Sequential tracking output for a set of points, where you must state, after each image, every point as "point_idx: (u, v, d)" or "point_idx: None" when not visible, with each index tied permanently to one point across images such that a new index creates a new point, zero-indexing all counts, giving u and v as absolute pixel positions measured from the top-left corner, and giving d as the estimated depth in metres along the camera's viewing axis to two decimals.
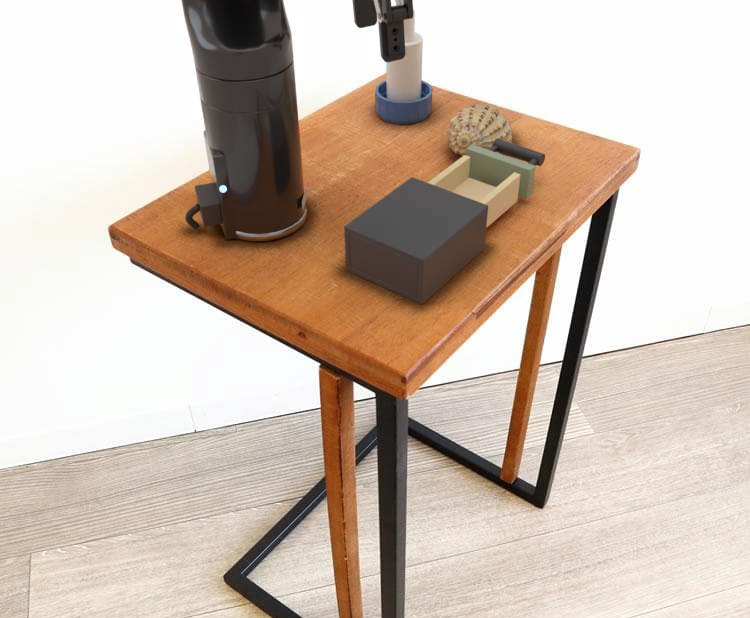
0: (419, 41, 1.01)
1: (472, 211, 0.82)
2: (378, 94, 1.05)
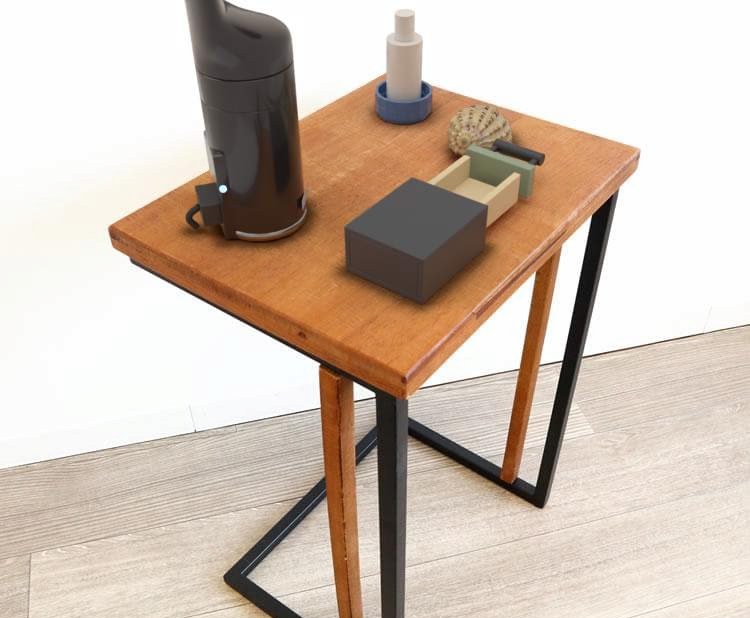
0: (419, 41, 1.01)
1: (472, 211, 0.82)
2: (378, 94, 1.05)
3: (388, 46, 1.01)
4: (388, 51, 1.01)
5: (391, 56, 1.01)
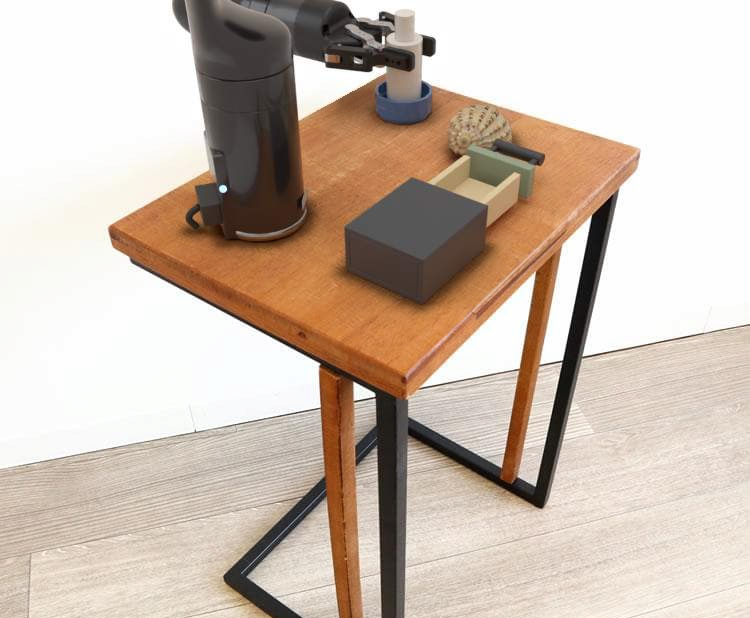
0: (419, 41, 1.01)
1: (472, 211, 0.82)
2: (378, 94, 1.05)
3: None
4: None
5: None
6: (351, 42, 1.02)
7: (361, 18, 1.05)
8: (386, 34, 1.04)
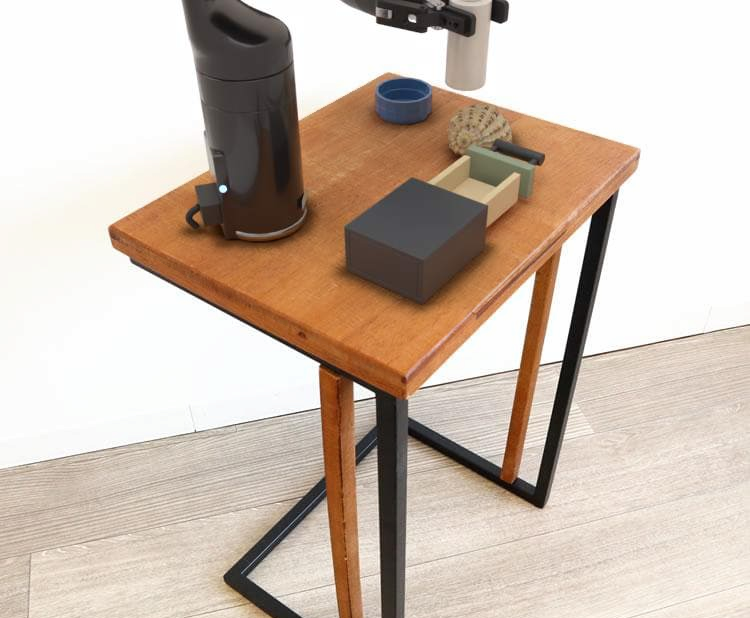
0: (486, 2, 0.85)
1: (472, 211, 0.82)
2: (378, 94, 1.05)
3: None
4: None
5: None
6: None
7: None
8: None
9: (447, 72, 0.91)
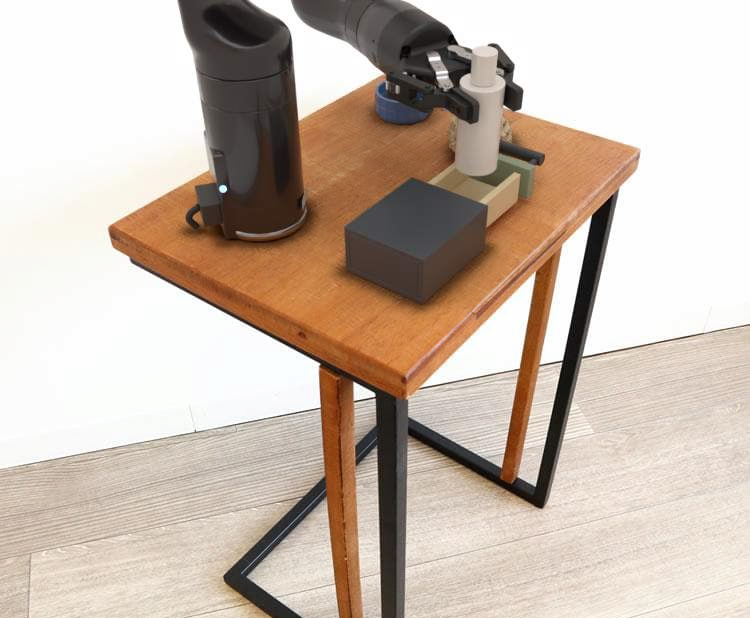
0: (495, 90, 0.79)
1: (472, 211, 0.82)
2: (378, 94, 1.05)
3: (459, 87, 0.81)
4: None
5: None
6: (424, 72, 0.84)
7: (454, 46, 0.85)
8: None
9: (455, 153, 0.86)
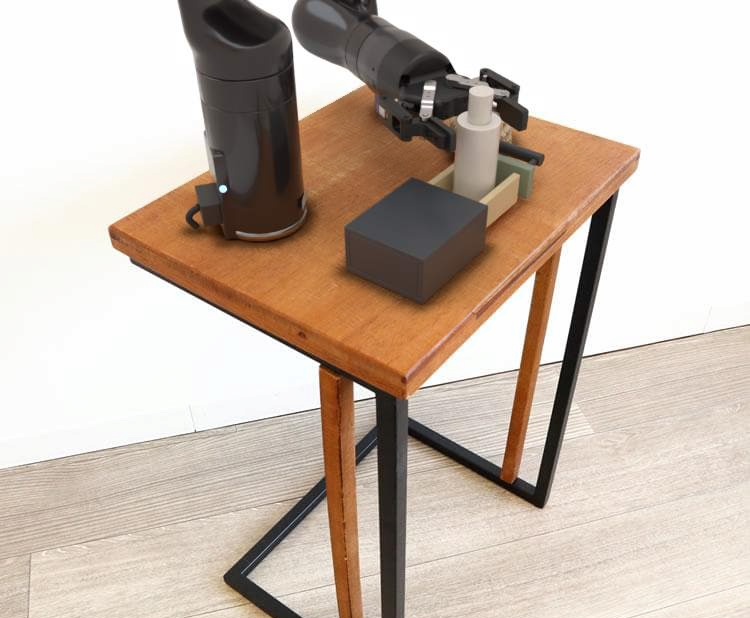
0: (491, 128, 0.82)
1: (472, 211, 0.82)
2: None
3: None
4: (456, 131, 0.84)
5: (457, 137, 0.84)
6: None
7: (452, 75, 0.87)
8: None
9: (453, 187, 0.88)
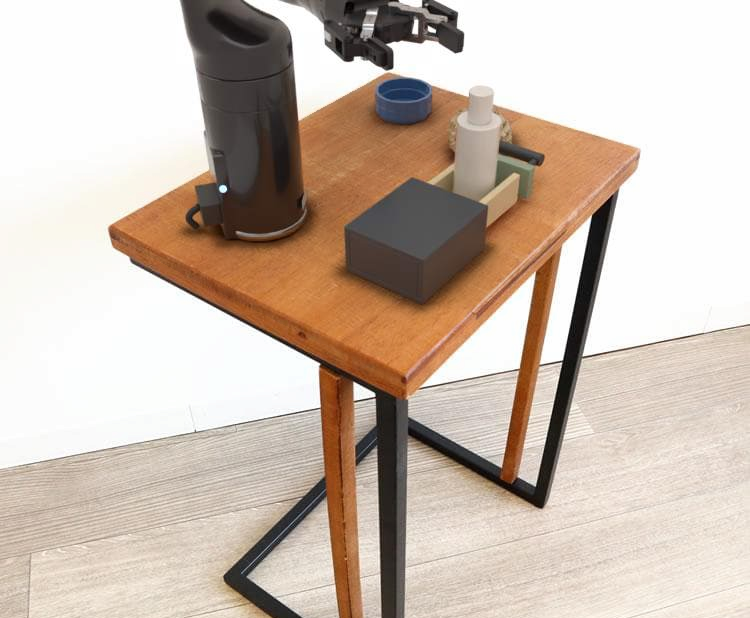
0: (491, 128, 0.82)
1: (472, 211, 0.82)
2: (378, 94, 1.05)
3: None
4: (456, 131, 0.84)
5: (457, 137, 0.84)
6: None
7: (393, 2, 0.92)
8: (420, 22, 0.92)
9: (453, 187, 0.88)
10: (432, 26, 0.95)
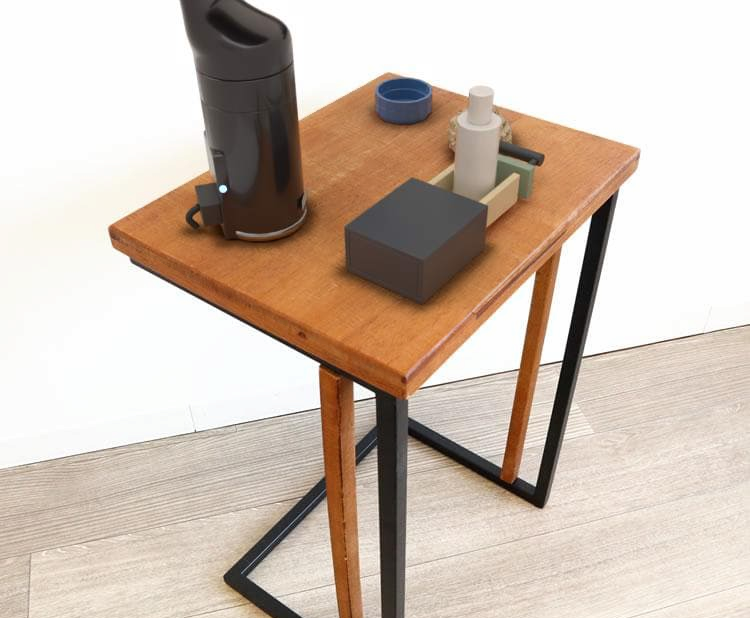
0: (491, 128, 0.82)
1: (472, 211, 0.82)
2: (378, 94, 1.05)
3: None
4: (456, 131, 0.84)
5: (457, 137, 0.84)
6: None
7: None
8: None
9: (453, 187, 0.88)
10: None
